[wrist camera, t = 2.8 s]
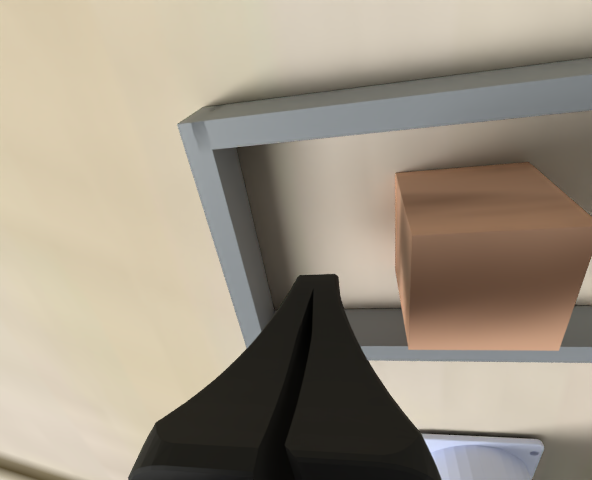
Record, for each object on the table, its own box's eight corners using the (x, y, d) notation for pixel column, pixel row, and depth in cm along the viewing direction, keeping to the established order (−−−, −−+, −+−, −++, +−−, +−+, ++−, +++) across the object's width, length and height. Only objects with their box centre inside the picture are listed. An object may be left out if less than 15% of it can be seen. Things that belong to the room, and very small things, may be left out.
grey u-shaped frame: (585, 321, 18) (616, 363, 16) (260, 323, 21) (250, 358, 19) (690, 44, 11) (766, 53, 9) (202, 107, 14) (176, 124, 12)
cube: (506, 264, 17) (558, 350, 12) (395, 268, 18) (408, 349, 13) (527, 161, 14) (602, 225, 10) (395, 172, 15) (412, 235, 11)
